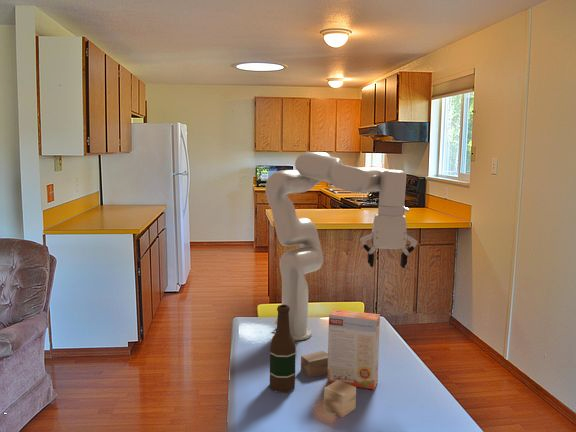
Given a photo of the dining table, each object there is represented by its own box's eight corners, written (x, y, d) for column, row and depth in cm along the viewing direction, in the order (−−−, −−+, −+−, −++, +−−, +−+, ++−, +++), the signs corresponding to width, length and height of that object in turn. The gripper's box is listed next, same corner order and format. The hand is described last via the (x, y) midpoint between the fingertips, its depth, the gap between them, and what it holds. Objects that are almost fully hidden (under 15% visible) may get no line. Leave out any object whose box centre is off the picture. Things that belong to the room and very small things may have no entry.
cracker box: (378, 381, 147) (380, 313, 144) (374, 391, 141) (377, 320, 138) (332, 373, 151) (333, 307, 148) (326, 382, 146) (328, 313, 143)
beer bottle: (265, 382, 145) (265, 303, 142) (290, 378, 148) (291, 300, 144) (274, 395, 138) (274, 311, 134) (300, 390, 141) (301, 308, 137)
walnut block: (300, 371, 153) (301, 355, 152) (322, 365, 157) (323, 350, 156) (309, 377, 149) (309, 362, 148) (331, 372, 153) (331, 356, 152)
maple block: (323, 409, 131) (324, 387, 130) (337, 400, 136) (337, 379, 135) (342, 417, 127) (343, 395, 126) (355, 408, 132) (356, 387, 131)
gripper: (416, 210, 153) (412, 264, 156) (360, 208, 153) (357, 262, 156) (423, 214, 146) (418, 270, 149) (364, 212, 146) (360, 268, 148)
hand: (386, 266), depth 152 cm, fingers open, 9 cm apart
